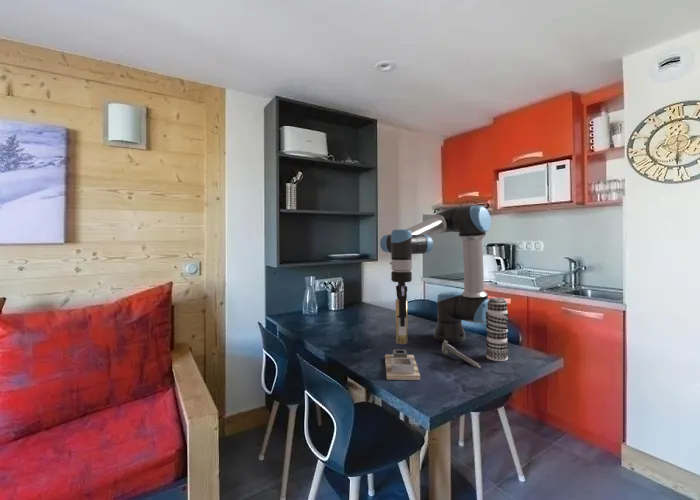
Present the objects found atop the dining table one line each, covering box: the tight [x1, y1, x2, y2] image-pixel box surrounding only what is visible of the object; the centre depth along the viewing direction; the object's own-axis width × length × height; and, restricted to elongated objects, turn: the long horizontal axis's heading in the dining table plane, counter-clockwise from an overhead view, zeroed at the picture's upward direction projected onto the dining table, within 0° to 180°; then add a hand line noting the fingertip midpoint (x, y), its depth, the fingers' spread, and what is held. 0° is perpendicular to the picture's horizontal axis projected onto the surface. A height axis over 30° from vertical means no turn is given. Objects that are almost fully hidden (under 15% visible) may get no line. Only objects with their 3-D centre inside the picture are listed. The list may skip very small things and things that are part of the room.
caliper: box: [441, 340, 482, 369], centre depth 145 cm, size 20×1×6 cm, turn 29°
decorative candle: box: [485, 297, 510, 362], centre depth 147 cm, size 9×9×25 cm
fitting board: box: [384, 349, 421, 381], centre depth 137 cm, size 22×12×4 cm, turn 176°
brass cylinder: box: [395, 298, 409, 345], centre depth 131 cm, size 4×4×16 cm
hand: (401, 332), depth 132 cm, fingers closed on brass cylinder, 4 cm apart
